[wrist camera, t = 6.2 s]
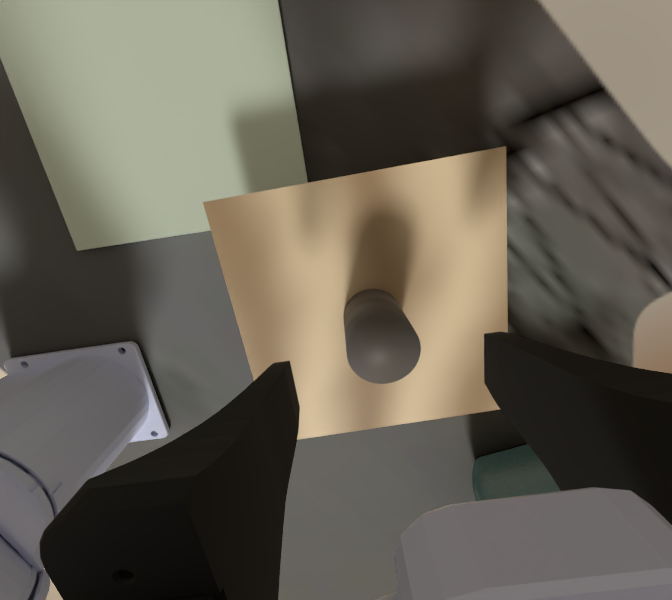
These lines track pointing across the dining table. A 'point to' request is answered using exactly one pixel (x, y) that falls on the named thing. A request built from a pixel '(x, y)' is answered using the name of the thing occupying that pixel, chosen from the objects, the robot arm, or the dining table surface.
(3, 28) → the mat
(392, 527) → the dining table surface
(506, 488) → the flower pot
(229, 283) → the lid
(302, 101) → the dining table surface
